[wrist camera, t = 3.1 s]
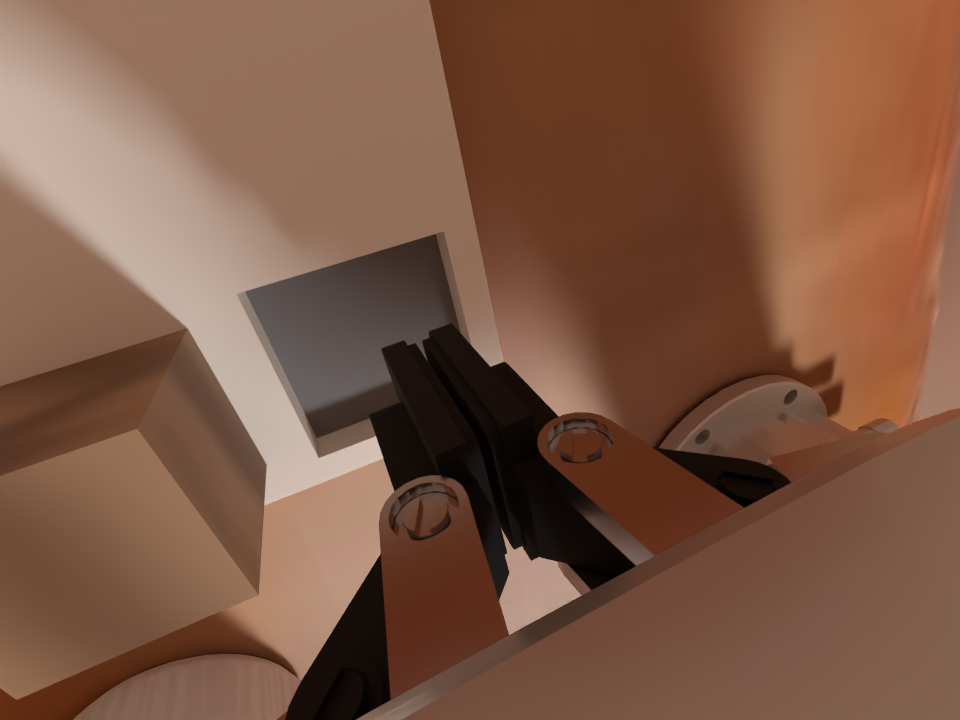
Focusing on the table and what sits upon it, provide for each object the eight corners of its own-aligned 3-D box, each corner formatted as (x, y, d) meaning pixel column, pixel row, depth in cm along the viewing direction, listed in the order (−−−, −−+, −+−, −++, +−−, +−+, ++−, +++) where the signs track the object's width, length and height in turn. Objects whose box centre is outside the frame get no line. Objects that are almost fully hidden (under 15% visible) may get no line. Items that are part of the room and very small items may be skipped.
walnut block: (187, 328, 13) (137, 428, 8) (266, 464, 15) (258, 594, 11) (-25, 394, 12) (-204, 546, 7) (97, 528, 14) (16, 700, 10)
